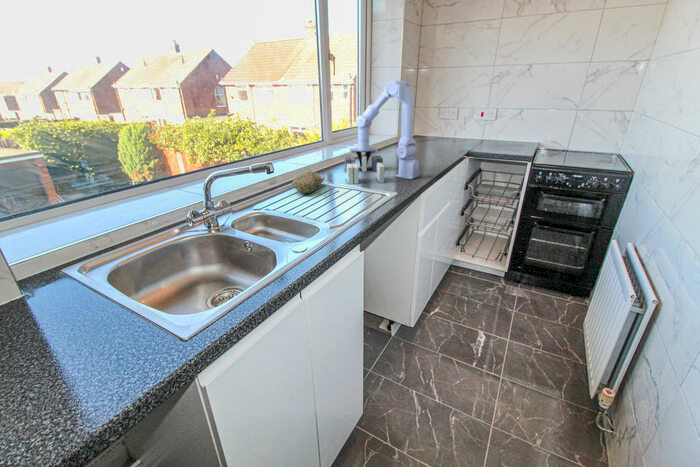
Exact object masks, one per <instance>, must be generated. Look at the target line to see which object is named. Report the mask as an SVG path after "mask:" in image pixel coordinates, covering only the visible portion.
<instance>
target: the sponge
mask: <svg viewBox="0 0 700 467" xmlns="http://www.w3.org/2000/svg"><path fill="white" fill-rule="evenodd" d="M324 180H325V177H324V176H323V175H322V174H320V173H318V172H316V171H307V172H306V171H305V172H304V173H302V174H300V175H298V176H297V177H295V179H293V181H292V187H293V188H294V189H295V190H297V192H299V193H301V194H310V193H312V192H314V191H315V190H316V189H317V186H319V185H322V184H323V182H324Z"/></svg>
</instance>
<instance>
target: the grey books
mask: <svg viewBox="0 0 700 467" xmlns="http://www.w3.org/2000/svg"><path fill="white" fill-rule="evenodd" d="M370 157H371V164H370V168H371V169H372V171H373V172H377V163H382V164H383V165H384V158H383V157H382V156H381V155H370ZM354 163H356V158H355V156H354V155H350V156H349V155H348V156H347V155H346V156H344V169H345V172H346V173H347V164H354Z"/></svg>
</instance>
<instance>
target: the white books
mask: <svg viewBox="0 0 700 467" xmlns="http://www.w3.org/2000/svg"><path fill="white" fill-rule="evenodd" d="M359 172H360V171H359V165H358V163H356V162H355V163H354V164H347V172H346V180H347V184H348V185H352V184H355V185H356V184H359V182H360V181H359V180H360V179H359V176H360V175H359ZM376 179H377V181H378V183H379V184H381V183H382V184H383V183H385V166H384V163H383V164H382V163H377V171H376Z"/></svg>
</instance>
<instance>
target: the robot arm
mask: <svg viewBox="0 0 700 467" xmlns="http://www.w3.org/2000/svg"><path fill="white" fill-rule="evenodd" d="M390 98H396V99H397V100H398V101H399V102H400V103H401V122H400V123H401V124H400V125H401V126H400V139H399V141H398V145H397V149H396V156H397V157H398V171H397V174H396V175H394V177H395V178H401V179H408V180H413V179H416V178H418V177H419V176H420V175H419V171H420V162H419V159H415V155H416V154H417V152H418V147H417V144H416V140H415V138H414V112H415V111H414V110H415V97H414V94H413V92H412V89H411V84H410V83H408V82H407V81H406V80H391V81H390V82H389V83H388V84H387V85H386V86H385V88H384V90H383V91H382V93H381V94H380V95H379V96H378V98H377V99H376V101H375V102H374V103H372V104H369V105H367V108H366V109H365V110H364V112H362V113H361V115H358V116H357V117H356V119H355V125H356V127H357V144H358V145H357V147H354V148H349V153H350V154H353V153H356V155H357V158H358V160H359V166H360V167H361V166H362V154H363V153H364V154H365V156H366V157H367V164H368V163H369V160H370V157H371V156H372V153H378V147H370V129H371V126H372V122H373V120H374V119H375V118H376V117H377V116H378V115H379V114H380V109H381V108H382V107H383V106H384V105H385V104H386V102H388V101H389V99H390Z"/></svg>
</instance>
